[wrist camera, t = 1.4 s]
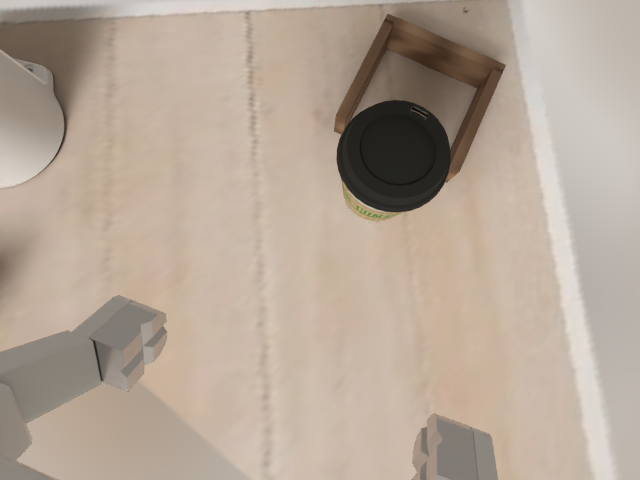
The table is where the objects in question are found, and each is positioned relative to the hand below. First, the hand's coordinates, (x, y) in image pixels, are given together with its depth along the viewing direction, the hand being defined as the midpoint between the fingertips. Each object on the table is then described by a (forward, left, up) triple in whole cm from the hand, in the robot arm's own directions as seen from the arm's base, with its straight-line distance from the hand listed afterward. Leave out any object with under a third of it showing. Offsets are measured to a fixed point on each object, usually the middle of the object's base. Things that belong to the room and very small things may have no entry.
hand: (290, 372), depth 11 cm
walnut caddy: (+1, +29, -32) cm, 43 cm away
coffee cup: (+1, +16, -32) cm, 36 cm away
